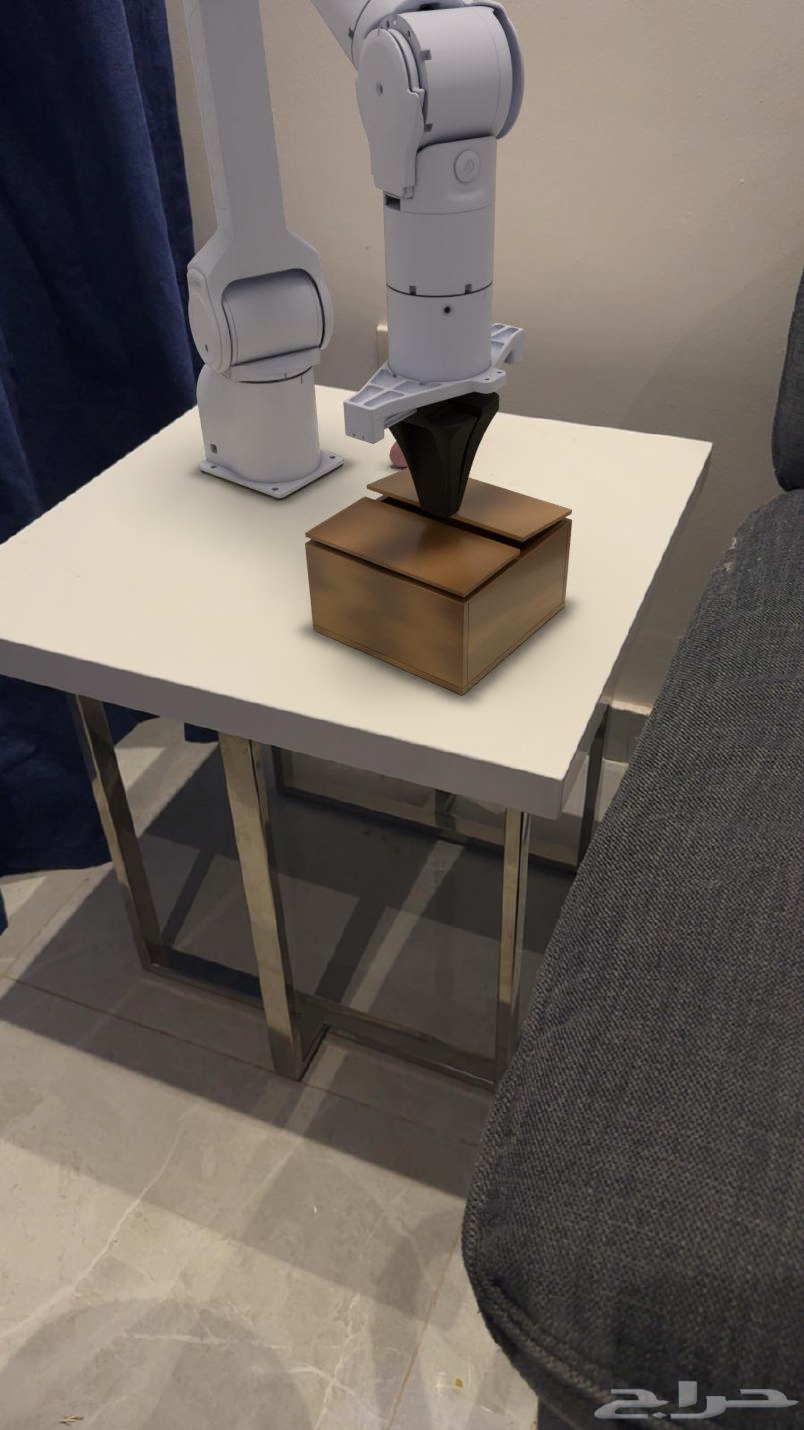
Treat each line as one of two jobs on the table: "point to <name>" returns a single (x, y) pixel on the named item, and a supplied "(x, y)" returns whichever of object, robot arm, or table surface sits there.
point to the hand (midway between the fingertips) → (440, 510)
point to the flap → (484, 506)
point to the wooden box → (432, 588)
